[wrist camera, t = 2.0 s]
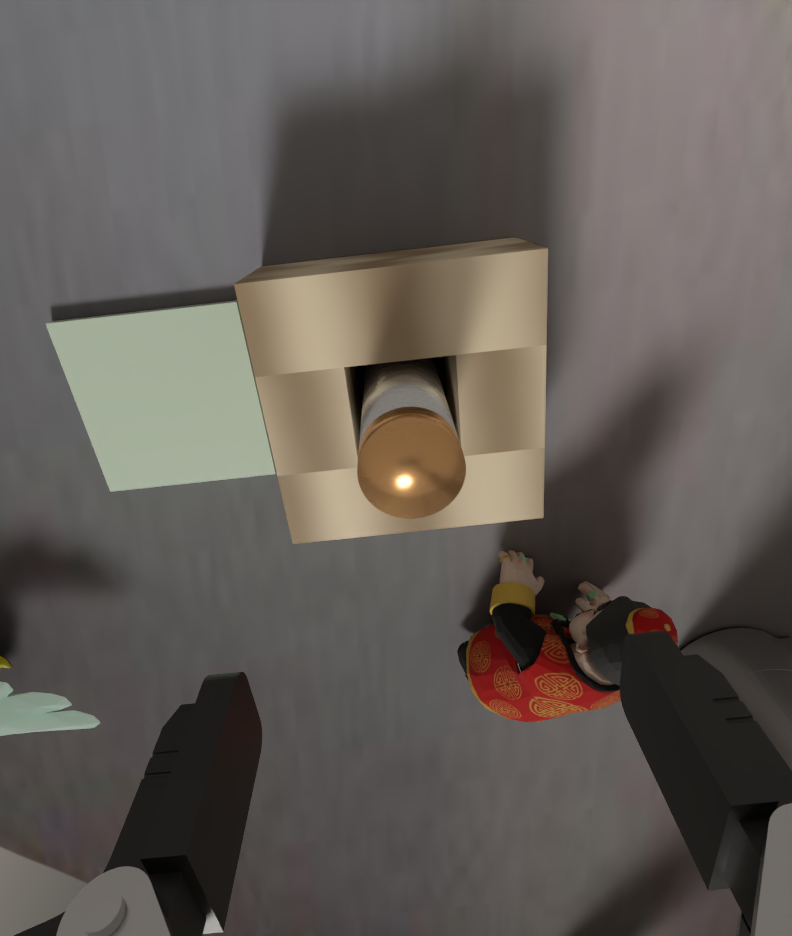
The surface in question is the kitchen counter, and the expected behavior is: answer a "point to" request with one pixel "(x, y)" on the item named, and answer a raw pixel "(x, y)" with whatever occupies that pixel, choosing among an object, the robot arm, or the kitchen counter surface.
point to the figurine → (551, 648)
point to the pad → (166, 394)
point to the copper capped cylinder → (408, 441)
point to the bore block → (399, 339)
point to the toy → (37, 711)
